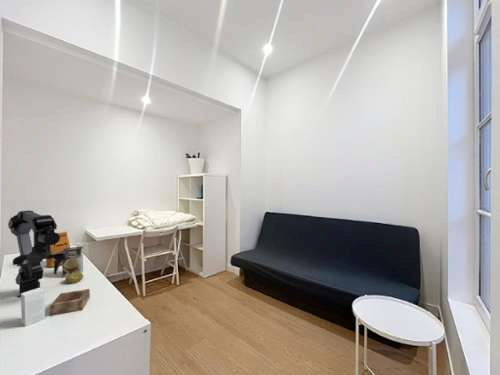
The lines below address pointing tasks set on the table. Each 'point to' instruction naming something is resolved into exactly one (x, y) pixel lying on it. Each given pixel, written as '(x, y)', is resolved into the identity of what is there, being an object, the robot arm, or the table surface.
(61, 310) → the walnut socket block
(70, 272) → the coffee box
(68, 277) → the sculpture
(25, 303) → the skincare box
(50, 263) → the coffee package
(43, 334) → the table surface
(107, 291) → the table surface
